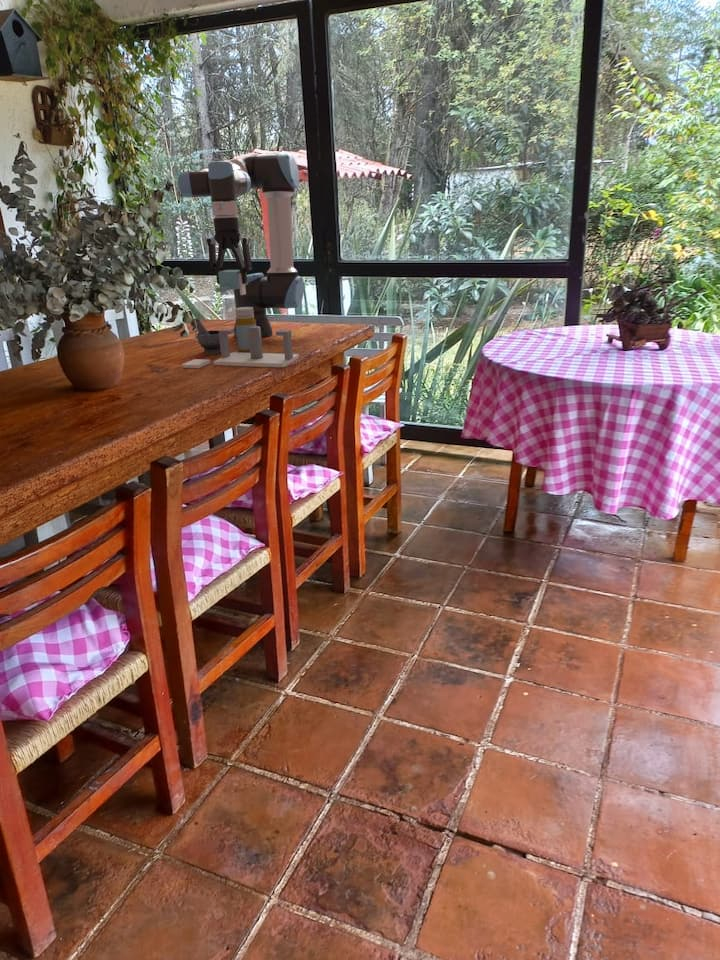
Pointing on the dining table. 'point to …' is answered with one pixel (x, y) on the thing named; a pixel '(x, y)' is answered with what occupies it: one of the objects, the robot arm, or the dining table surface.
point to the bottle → (244, 327)
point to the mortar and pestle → (208, 339)
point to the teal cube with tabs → (228, 280)
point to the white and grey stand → (255, 350)
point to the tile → (196, 363)
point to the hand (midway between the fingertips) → (233, 294)
